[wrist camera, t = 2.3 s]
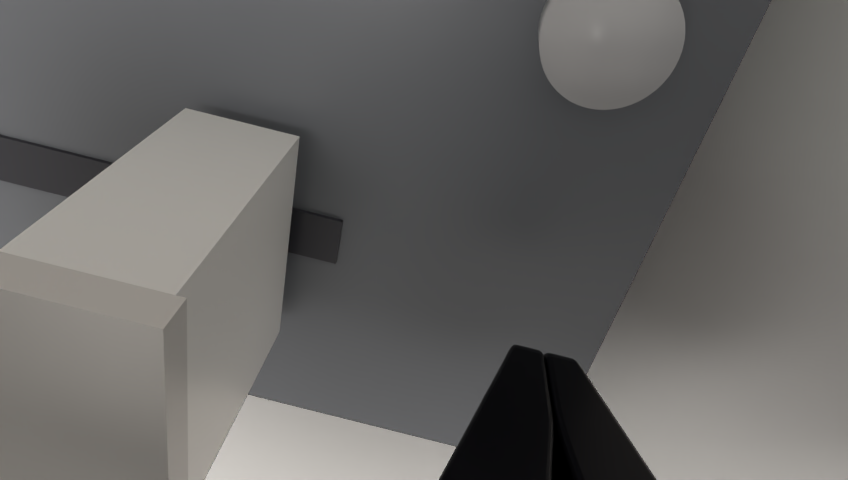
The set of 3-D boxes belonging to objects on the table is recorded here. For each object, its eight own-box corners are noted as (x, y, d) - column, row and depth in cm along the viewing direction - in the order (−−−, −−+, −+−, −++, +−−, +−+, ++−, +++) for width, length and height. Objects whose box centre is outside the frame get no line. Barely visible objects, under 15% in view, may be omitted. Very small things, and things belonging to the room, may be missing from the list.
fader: (315, 126, 8) (163, 329, 5) (290, 342, 10) (171, 592, 7) (170, 90, 8) (-89, 265, 5) (175, 314, 10) (0, 549, 7)
